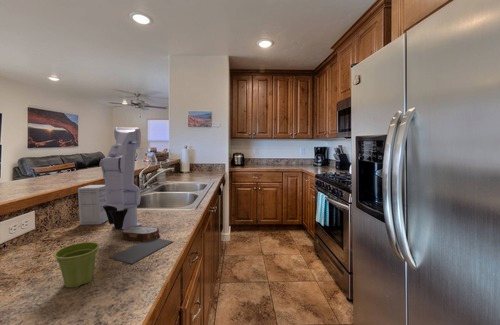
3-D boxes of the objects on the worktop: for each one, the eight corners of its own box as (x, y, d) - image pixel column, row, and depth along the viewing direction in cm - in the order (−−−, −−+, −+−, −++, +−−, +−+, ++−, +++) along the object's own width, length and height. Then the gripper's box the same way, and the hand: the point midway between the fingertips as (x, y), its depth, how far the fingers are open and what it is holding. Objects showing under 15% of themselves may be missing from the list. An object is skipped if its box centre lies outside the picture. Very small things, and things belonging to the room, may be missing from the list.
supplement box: (111, 218, 117) (110, 184, 116) (100, 224, 108) (98, 187, 107) (91, 218, 117) (90, 184, 116) (78, 224, 108) (77, 187, 107)
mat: (108, 258, 76) (108, 257, 76) (152, 238, 92) (152, 237, 92) (131, 264, 72) (131, 263, 72) (173, 242, 88) (173, 241, 88)
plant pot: (87, 291, 58) (85, 256, 58) (46, 293, 58) (44, 258, 57) (107, 271, 68) (105, 241, 67) (72, 272, 67) (70, 242, 66)
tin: (150, 241, 88) (163, 235, 96) (150, 232, 88) (163, 227, 96) (115, 238, 91) (131, 232, 100) (115, 230, 91) (131, 225, 100)
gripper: (132, 190, 85) (133, 228, 86) (120, 185, 95) (121, 219, 96) (110, 193, 80) (111, 233, 81) (99, 188, 90) (101, 223, 91)
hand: (115, 226), depth 88 cm, fingers open, 7 cm apart
